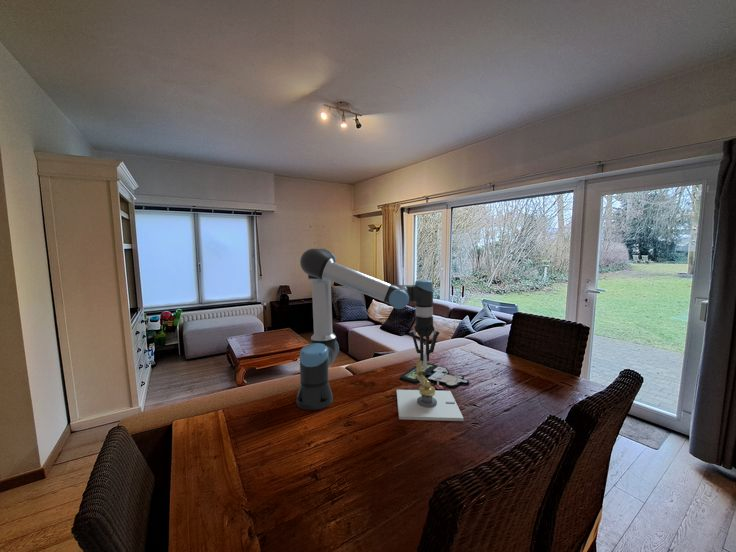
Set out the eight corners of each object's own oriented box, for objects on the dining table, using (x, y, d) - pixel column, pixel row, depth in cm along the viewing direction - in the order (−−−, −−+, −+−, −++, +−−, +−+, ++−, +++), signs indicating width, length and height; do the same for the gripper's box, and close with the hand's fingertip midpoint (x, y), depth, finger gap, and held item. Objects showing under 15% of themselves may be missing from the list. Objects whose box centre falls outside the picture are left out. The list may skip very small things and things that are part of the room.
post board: (399, 419, 112) (399, 406, 112) (396, 392, 134) (396, 381, 133) (463, 421, 111) (463, 408, 110) (450, 393, 133) (450, 382, 132)
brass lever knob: (437, 395, 119) (438, 369, 119) (422, 397, 118) (423, 371, 117) (424, 382, 132) (425, 358, 131) (411, 383, 131) (411, 359, 130)
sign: (422, 361, 168) (476, 374, 150) (422, 364, 168) (476, 377, 150) (397, 377, 147) (456, 394, 129) (397, 380, 147) (456, 398, 129)
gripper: (437, 313, 133) (437, 364, 135) (408, 313, 133) (409, 364, 135) (440, 317, 125) (441, 371, 127) (410, 317, 126) (410, 371, 128)
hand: (424, 367), depth 131 cm, fingers closed
